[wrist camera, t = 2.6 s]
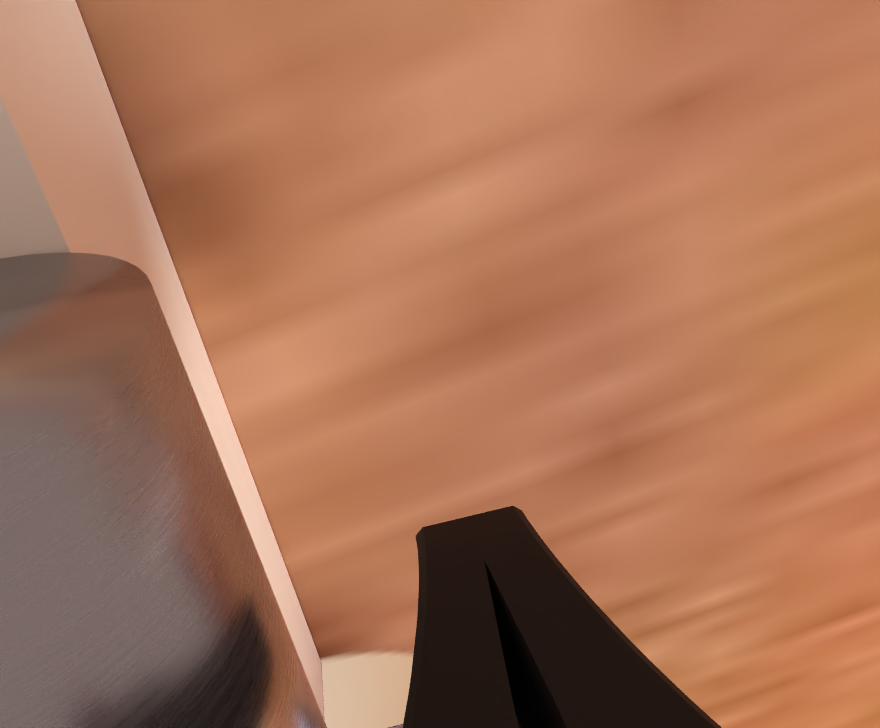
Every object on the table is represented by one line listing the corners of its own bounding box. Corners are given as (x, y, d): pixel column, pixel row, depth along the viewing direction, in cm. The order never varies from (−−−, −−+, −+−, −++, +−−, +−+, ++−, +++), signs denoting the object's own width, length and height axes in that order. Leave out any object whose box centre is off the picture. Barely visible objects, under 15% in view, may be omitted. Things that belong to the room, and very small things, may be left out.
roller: (115, 793, 13) (361, 730, 13) (45, 1146, 9) (390, 1047, 10) (-239, 305, 8) (183, 221, 8) (-743, 666, 4) (88, 480, 4)
